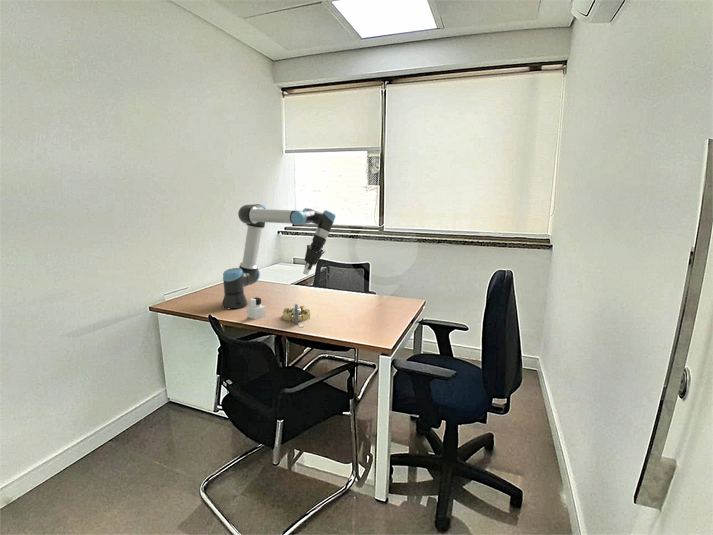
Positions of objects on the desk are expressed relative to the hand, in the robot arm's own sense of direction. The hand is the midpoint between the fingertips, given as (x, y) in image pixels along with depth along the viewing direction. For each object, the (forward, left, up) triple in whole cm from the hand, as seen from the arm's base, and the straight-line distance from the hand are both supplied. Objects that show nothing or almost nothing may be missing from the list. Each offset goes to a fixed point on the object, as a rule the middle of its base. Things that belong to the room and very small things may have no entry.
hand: (305, 274), depth 216 cm
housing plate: (-3, -9, -24) cm, 26 cm away
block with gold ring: (-2, -11, -23) cm, 26 cm away
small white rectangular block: (+4, -23, -24) cm, 33 cm away
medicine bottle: (-26, -12, -24) cm, 38 cm away
